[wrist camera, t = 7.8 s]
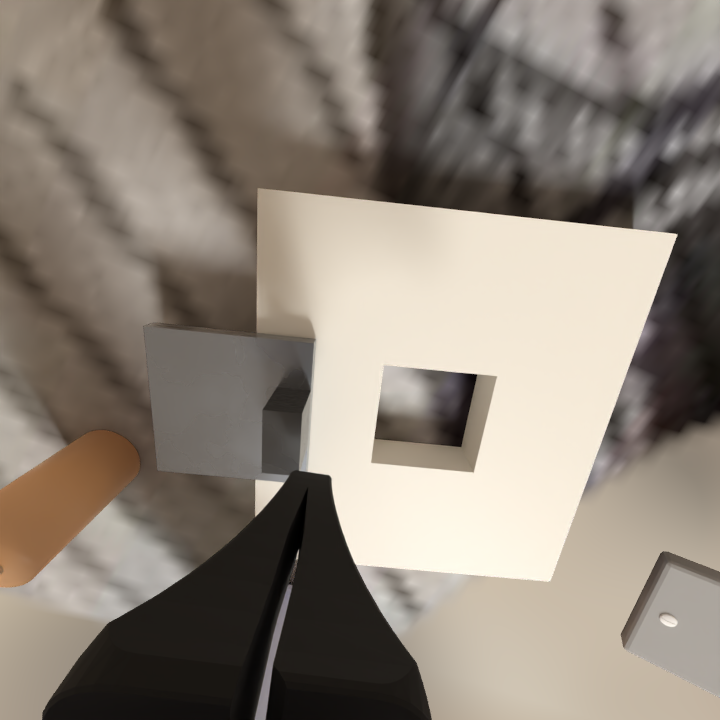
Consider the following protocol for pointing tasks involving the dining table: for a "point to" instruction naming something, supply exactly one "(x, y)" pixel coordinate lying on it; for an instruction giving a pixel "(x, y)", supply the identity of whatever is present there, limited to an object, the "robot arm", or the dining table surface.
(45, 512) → the plug peg
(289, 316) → the socket plate
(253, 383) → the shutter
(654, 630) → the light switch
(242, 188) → the dining table surface
